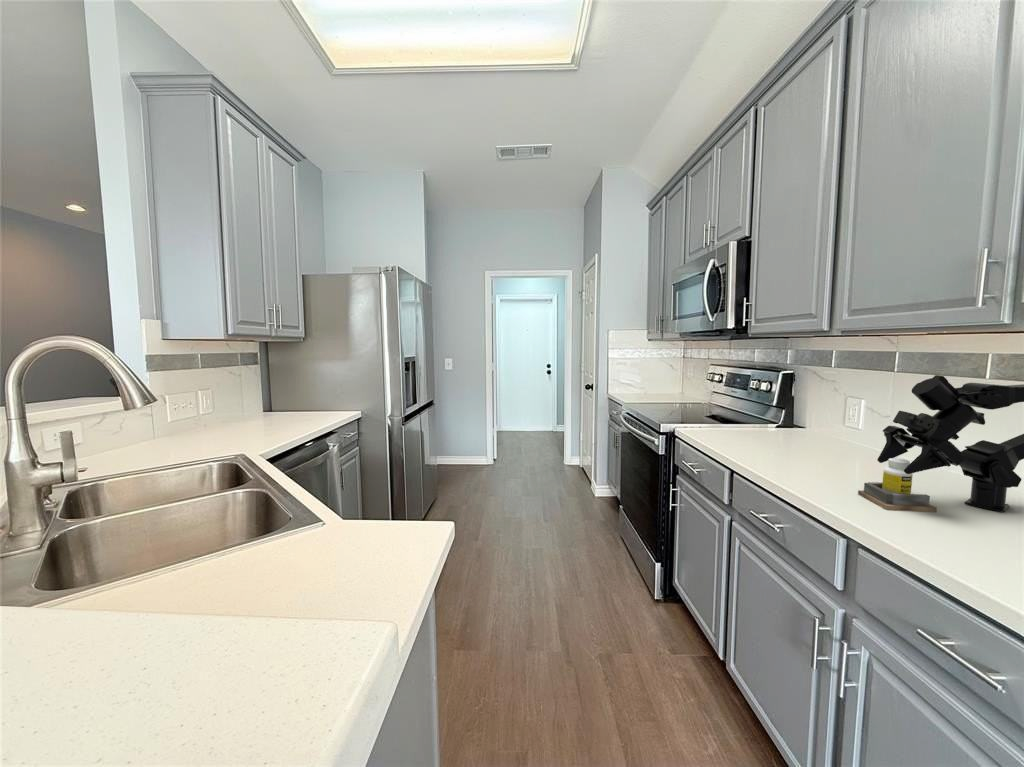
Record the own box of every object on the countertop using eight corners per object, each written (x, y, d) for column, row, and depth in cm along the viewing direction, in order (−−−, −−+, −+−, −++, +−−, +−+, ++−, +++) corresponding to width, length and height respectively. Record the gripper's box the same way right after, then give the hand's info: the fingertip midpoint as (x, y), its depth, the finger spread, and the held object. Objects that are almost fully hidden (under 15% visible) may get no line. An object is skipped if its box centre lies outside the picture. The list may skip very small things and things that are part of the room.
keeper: (902, 495, 113) (904, 482, 113) (936, 511, 103) (937, 497, 102) (858, 494, 115) (858, 481, 114) (886, 509, 104) (887, 495, 104)
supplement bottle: (902, 503, 105) (905, 464, 104) (876, 496, 110) (879, 458, 109) (915, 500, 107) (918, 461, 106) (889, 493, 112) (892, 456, 111)
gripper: (893, 395, 115) (844, 435, 117) (954, 406, 96) (894, 454, 99) (924, 424, 114) (875, 464, 117) (991, 441, 96) (930, 488, 99)
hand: (891, 466), depth 108 cm, fingers open, 9 cm apart
